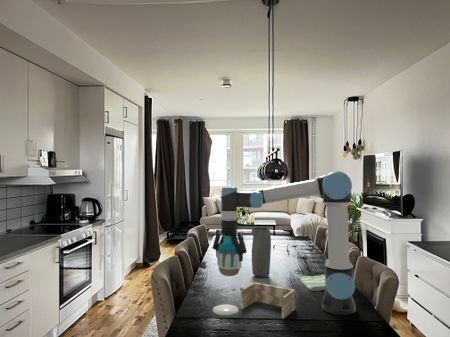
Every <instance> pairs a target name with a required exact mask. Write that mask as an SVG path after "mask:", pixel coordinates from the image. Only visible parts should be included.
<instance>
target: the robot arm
mask: <svg viewBox="0 0 450 337" xmlns="http://www.w3.org/2000/svg"><path fill="white" fill-rule="evenodd" d="M352 184H353V183H352V180H351V178H350V176H348V174H346V173H345V172H344V171H338V170H335V171H331V172H328V173H326V174H324V175H319V176H315V178H314V179H309V180H304V181H299V182H292V183H287V184H281V185H274V186H271V187H270V186H268V187H264V188H259V189H253V190H249V191H239V190H238V188H237V187H236V186H224V187H222V188H221V192H220V193H221V195H220V200H221V201H220V202H221V204H220V205H221V206H220V207H221V208H220V212H221V213H220V217H221V225H220V226H221V229H220V228H219V229H215V238H214V241H213V245H212V249H213V250H214V251H215V258H216V260H217V261H216V264H217V266H218V249H219V245H220V244H221V243H222V242H223V239H224V235H225V236H231V241H232V242H233V243H234V245H235V246H236V249H237V252H238V254H237V269H239V268H240V269H241V268H242V262H243V261H244V255H245V254H246V253H247V248H246V244H245V240H244V232H243V231H238V229H237V228H238V220H237V219H238V208H253V209H256V208H257V209H258V208H262V207H263V205H265V204H270V203H277V202H283V201H287V200H289V201H290V200H295V199H302V198H307V197H314V196H317V197H322V200H323V202H322V203H323V204H324V205H325V206H326V215H327V216H326V221H327V222H326V223H327V248H328V251H327V252H328V254H327V255H328V259H326V260H325V262H324V275H325V290H324V295H323V296H322V301H321V309H322V310H323V311H325V312H327V313H329V314H333V315H338V316H341V315H342V316H348V315H352V314H354V313H355V312H357V311H356V310H357V308H356V303H355V300H354V297H353V294H354V293H355V289H356V283H355V280H354V265H353V264H352V263H351V261H350V244H349V213H348V212H349V210H348V207H349V206H350V204H351V203H352V188H353V185H352ZM234 238H235V239H234Z"/></svg>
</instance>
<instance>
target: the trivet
mask: <svg viewBox="0 0 450 337" xmlns="http://www.w3.org/2000/svg"><path fill="white" fill-rule="evenodd" d="M212 313H213V314H214V315H217V316H233V315H236V314H238V313H239V308H238V306H237V305H233V304H228V303H227V304H226V303H225V304H219V305H216V306H214V307H213V308H212Z"/></svg>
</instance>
